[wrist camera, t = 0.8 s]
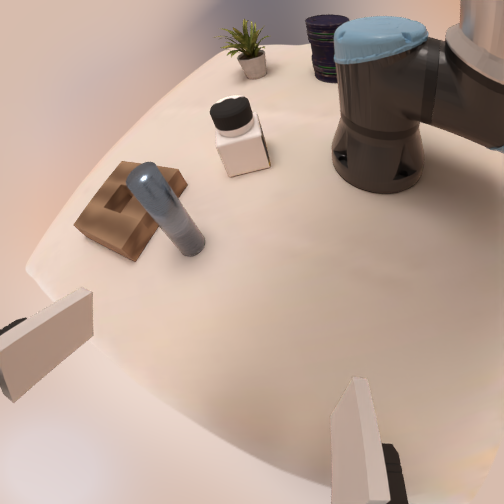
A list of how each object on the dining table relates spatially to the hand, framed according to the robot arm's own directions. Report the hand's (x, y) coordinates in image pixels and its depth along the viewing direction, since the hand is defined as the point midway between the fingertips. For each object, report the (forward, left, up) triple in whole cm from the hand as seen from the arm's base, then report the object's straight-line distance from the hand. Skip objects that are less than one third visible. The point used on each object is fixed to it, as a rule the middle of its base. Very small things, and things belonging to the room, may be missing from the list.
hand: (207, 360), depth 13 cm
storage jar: (-65, -14, -21) cm, 70 cm away
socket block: (-15, -36, -21) cm, 44 cm away
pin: (-13, -20, -21) cm, 32 cm away
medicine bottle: (-31, -20, -21) cm, 42 cm away
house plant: (-63, -35, -21) cm, 75 cm away
